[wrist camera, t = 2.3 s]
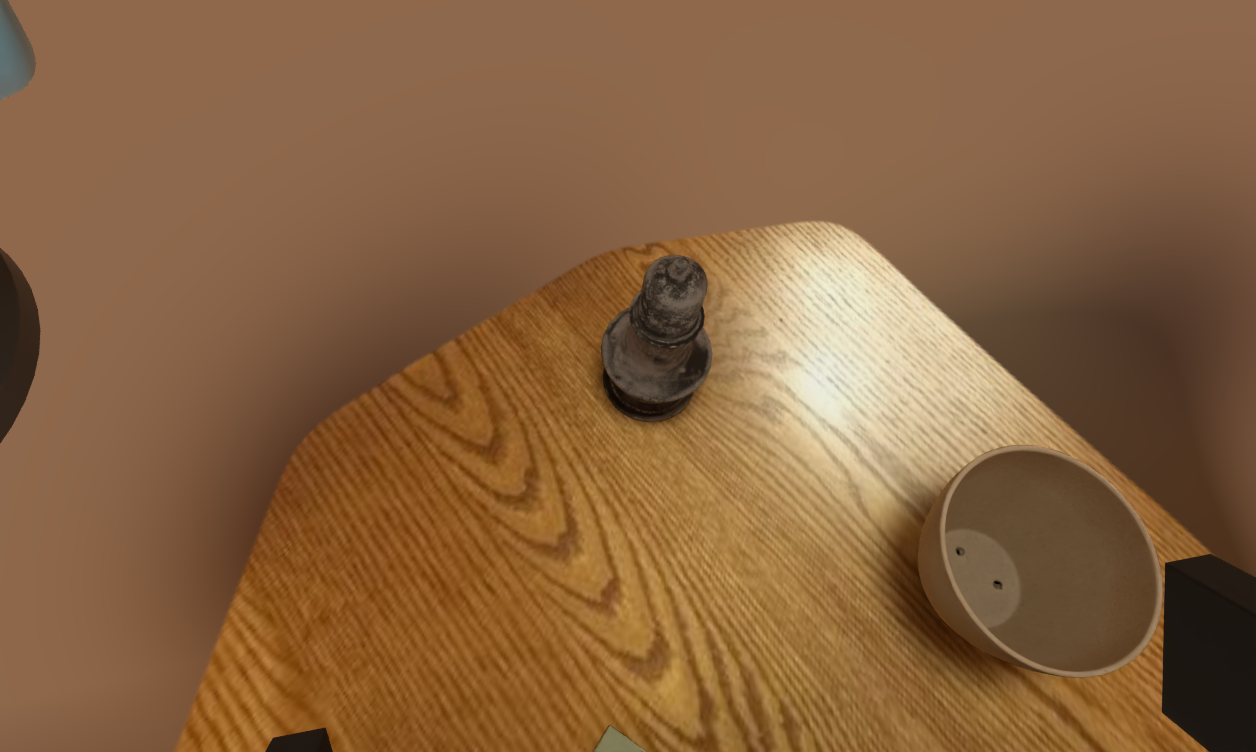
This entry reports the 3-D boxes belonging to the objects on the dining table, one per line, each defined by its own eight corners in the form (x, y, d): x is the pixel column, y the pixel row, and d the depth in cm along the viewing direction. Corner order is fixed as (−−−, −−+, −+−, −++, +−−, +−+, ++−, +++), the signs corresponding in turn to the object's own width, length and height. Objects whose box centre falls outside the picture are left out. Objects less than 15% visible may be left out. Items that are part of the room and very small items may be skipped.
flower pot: (844, 608, 37) (905, 586, 30) (919, 454, 41) (987, 405, 34) (1025, 726, 35) (1130, 729, 29) (1085, 554, 39) (1189, 522, 33)
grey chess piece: (588, 342, 42) (598, 213, 31) (685, 325, 43) (728, 195, 32) (610, 436, 40) (630, 331, 29) (712, 416, 41) (768, 309, 30)
